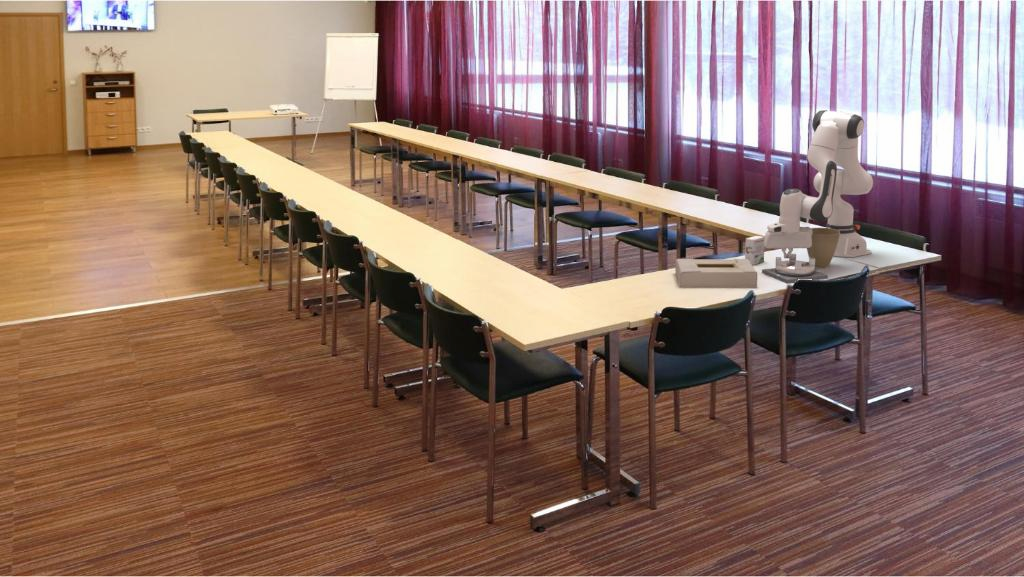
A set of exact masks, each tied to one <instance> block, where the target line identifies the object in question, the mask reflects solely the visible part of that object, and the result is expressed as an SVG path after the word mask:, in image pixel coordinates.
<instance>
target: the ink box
mask: <svg viewBox="0 0 1024 577" xmlns="http://www.w3.org/2000/svg"><path fill="white" fill-rule="evenodd" d="M764 238H765V236H761V235H754V236H751V237H746V238H745V248H744V249H745V252H744V259H749V261H750V263H751V265H752V266H755V265H758V264H760V263H761V264H762V263H764V262H765V249H766V247H765V246H764Z"/></svg>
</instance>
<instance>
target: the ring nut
mask: <svg viewBox="0 0 1024 577" xmlns="http://www.w3.org/2000/svg"><path fill="white" fill-rule="evenodd" d="M774 268H775V271H776V272H777V273H779V274H782V275H787V276H809V275H812V274H814V270H815V268H816V267H815V258H814V257H809V256H808V261H804V260H797V253H791V254H790V258H788V260H782V257H781V256H780V257H779V256H776V257H775V267H774Z"/></svg>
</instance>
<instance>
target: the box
mask: <svg viewBox="0 0 1024 577" xmlns="http://www.w3.org/2000/svg"><path fill="white" fill-rule="evenodd" d="M674 264H675V266H674V267H675V269H674V270H675V276H676V278H677V281H678V285H679V287H680V288H757V286H758V271H756V270H755V268H754V265H751V263H750V261H749V259H745V258H732V259H731V258H730V259H725V258H724V259H723V258H722V259H719V258H717V259H716V258H715V259H711V258H709V259H703V258H702V259H701V258H700V259H696V258H695V259H693V258H676V259H675V263H674Z"/></svg>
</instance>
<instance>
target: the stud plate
mask: <svg viewBox="0 0 1024 577" xmlns="http://www.w3.org/2000/svg"><path fill="white" fill-rule="evenodd" d="M775 268H776V267H772V268H764V269H761V274H764V275H767V276H768V277H771V278H774V279H776V280H779V281H781V282H783V283H786V284H792V283H794V284H795V283H796V282H795V281H797V280H798V279H812V280H811V281H818V280H828V279H829V275H828V274H827V273H823V272H822V271H817V270H816V269H814V274H812V275H809V276H787V275H782V274H779V273H777V272H776V271H775Z"/></svg>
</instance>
